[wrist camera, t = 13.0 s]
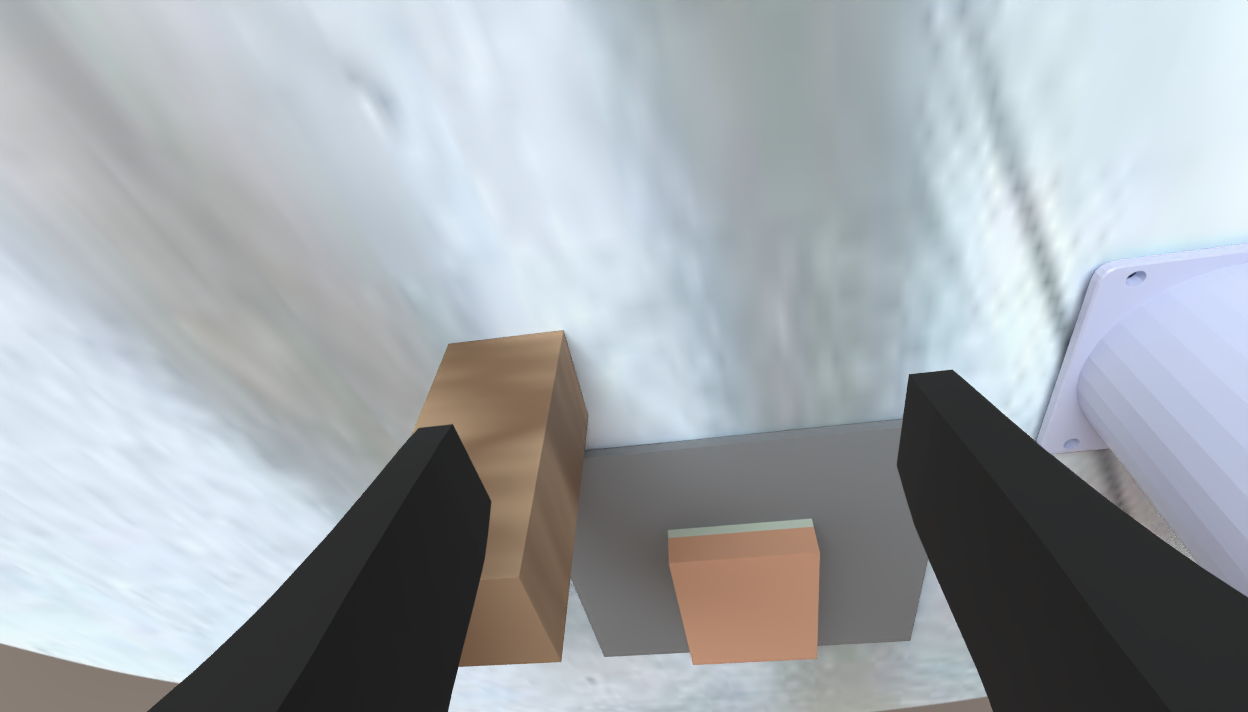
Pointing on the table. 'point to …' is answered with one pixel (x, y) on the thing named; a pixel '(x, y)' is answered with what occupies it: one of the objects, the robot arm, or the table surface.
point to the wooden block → (518, 485)
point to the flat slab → (747, 590)
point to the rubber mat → (741, 494)
